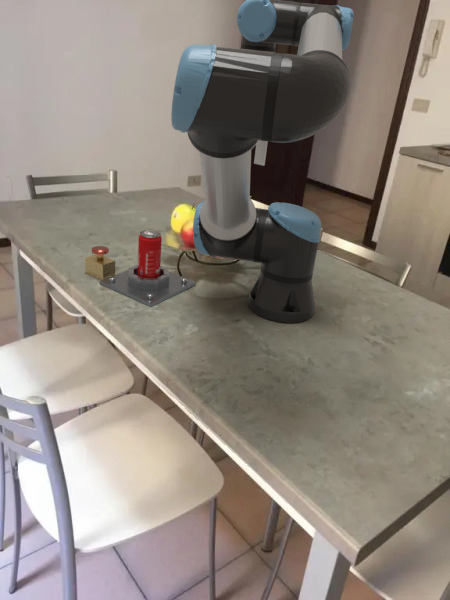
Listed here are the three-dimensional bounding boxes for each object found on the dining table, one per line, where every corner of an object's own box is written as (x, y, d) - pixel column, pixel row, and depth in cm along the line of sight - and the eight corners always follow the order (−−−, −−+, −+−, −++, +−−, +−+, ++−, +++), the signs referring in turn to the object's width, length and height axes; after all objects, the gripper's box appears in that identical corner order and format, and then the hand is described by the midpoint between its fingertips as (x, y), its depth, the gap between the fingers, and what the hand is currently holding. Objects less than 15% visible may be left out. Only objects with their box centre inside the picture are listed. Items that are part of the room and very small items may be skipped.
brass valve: (115, 275, 126) (115, 250, 123) (102, 280, 123) (102, 254, 120) (98, 268, 129) (97, 243, 126) (85, 273, 126) (84, 247, 123)
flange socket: (195, 285, 126) (196, 272, 124) (150, 306, 114) (151, 293, 112) (146, 265, 133) (146, 253, 132) (99, 283, 121) (99, 270, 120)
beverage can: (148, 288, 120) (150, 239, 115) (132, 280, 123) (133, 232, 117) (164, 282, 124) (166, 234, 118) (148, 275, 126) (150, 228, 121)
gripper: (269, 70, 127) (258, 158, 136) (208, 68, 108) (200, 171, 117) (296, 74, 123) (283, 164, 132) (238, 72, 104) (228, 178, 113)
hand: (244, 167), depth 125 cm, fingers open, 13 cm apart
